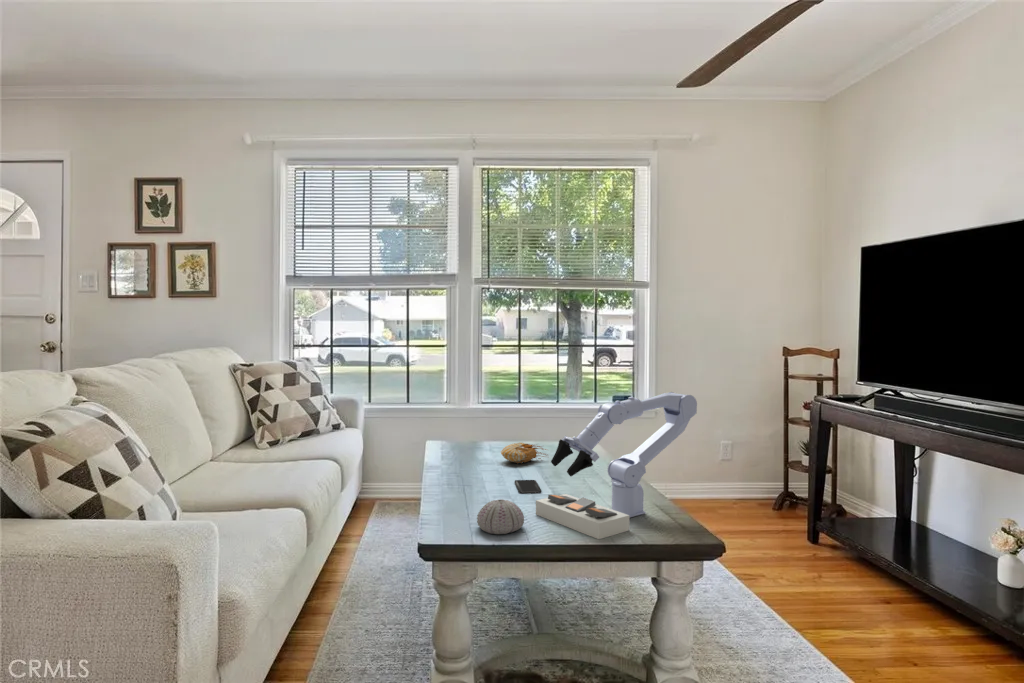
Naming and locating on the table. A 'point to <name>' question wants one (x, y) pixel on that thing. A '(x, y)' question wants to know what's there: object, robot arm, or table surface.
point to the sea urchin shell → (500, 517)
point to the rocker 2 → (600, 512)
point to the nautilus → (520, 452)
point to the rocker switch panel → (583, 518)
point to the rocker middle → (581, 505)
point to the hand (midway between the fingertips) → (560, 469)
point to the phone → (527, 486)
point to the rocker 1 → (561, 499)
